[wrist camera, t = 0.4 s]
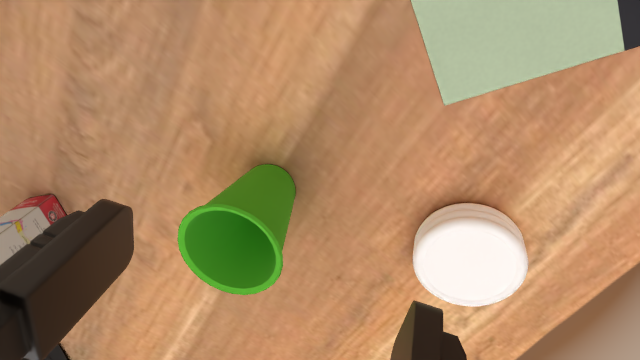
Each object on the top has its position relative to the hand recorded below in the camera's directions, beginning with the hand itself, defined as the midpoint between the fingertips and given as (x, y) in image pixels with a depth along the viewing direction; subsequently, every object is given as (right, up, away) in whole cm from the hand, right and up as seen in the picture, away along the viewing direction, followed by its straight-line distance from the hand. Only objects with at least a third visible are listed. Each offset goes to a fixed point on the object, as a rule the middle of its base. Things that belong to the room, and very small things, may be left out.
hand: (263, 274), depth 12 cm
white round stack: (+16, -4, +32) cm, 36 cm away
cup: (-3, +2, +34) cm, 34 cm away
